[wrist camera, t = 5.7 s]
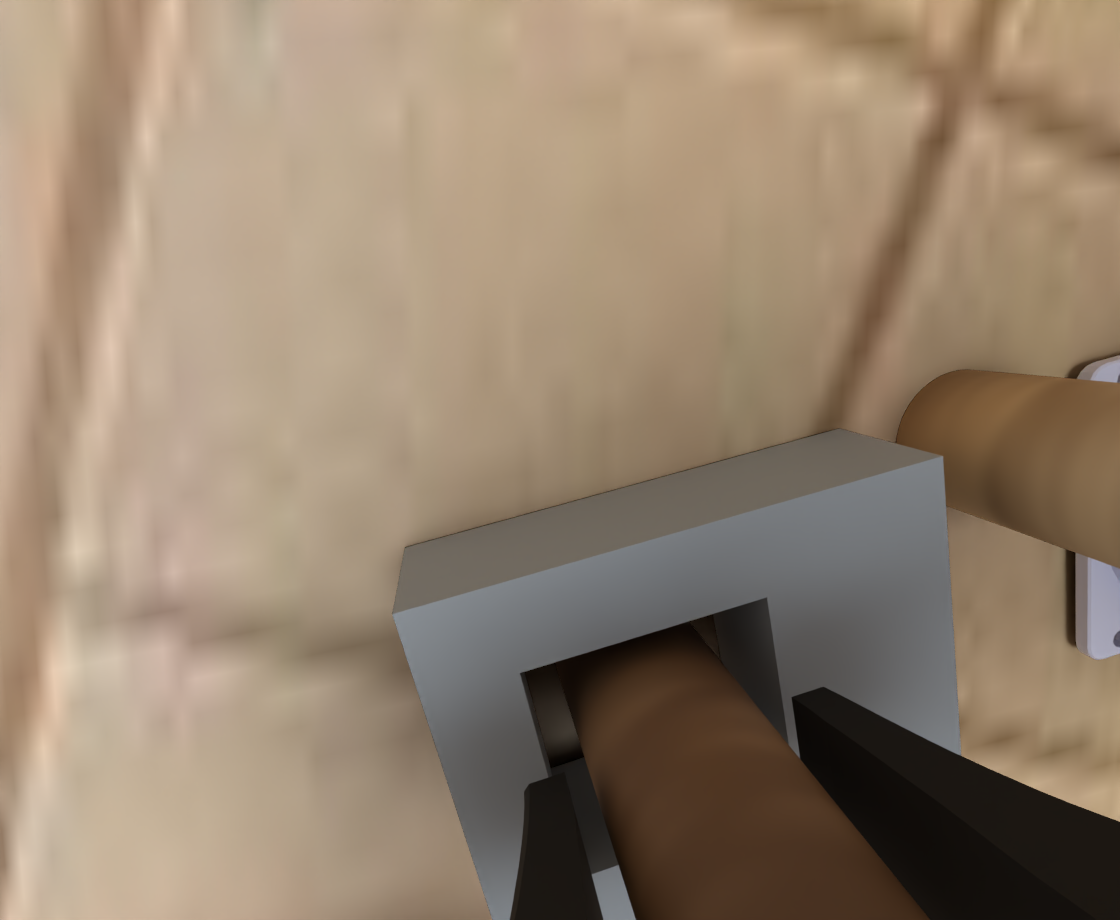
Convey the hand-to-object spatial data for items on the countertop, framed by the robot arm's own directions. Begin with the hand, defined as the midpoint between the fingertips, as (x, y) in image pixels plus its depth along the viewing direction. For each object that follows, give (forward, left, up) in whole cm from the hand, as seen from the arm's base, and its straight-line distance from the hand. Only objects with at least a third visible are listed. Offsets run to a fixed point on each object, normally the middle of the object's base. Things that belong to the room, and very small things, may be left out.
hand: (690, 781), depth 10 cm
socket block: (-1, 0, -4) cm, 4 cm away
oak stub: (-9, -3, -4) cm, 10 cm away
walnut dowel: (0, 0, -4) cm, 4 cm away
